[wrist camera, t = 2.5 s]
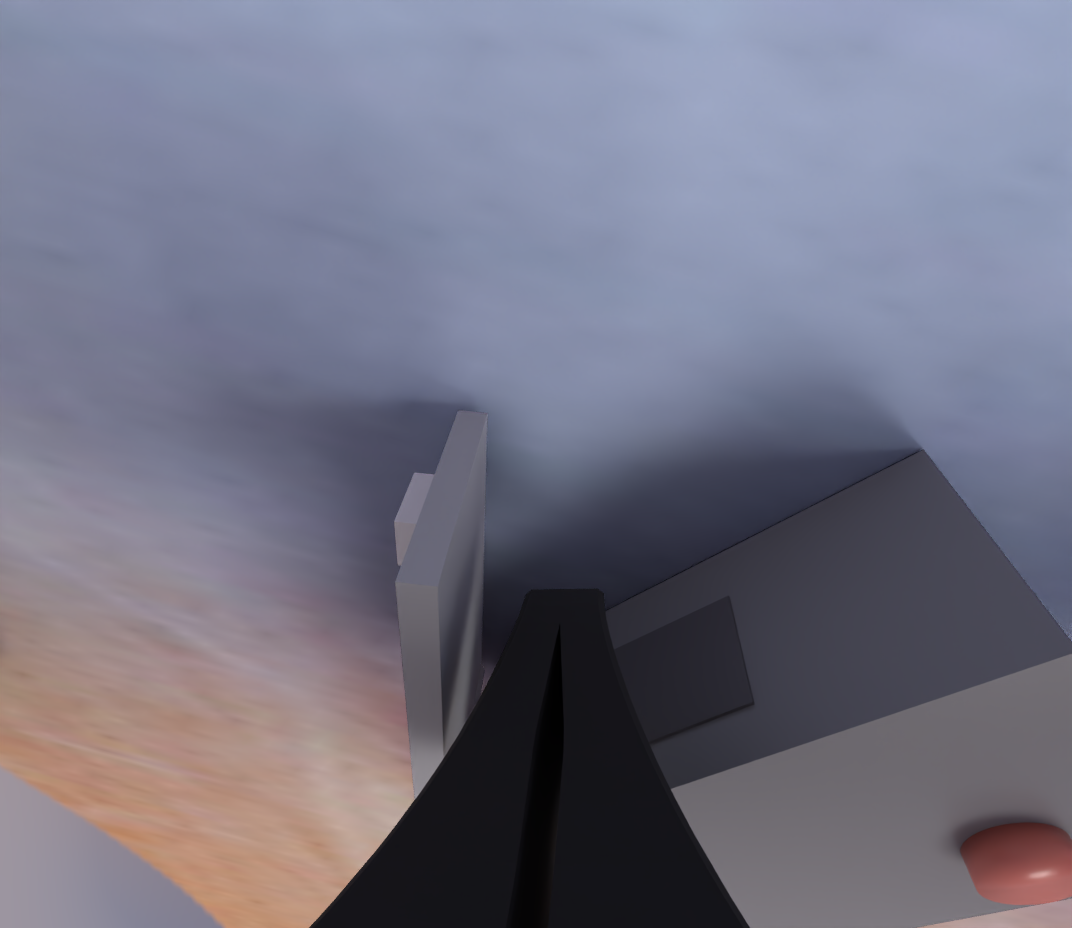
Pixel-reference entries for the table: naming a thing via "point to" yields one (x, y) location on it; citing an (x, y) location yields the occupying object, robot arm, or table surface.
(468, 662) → the side door
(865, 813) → the camera body
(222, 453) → the table surface
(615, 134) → the table surface
